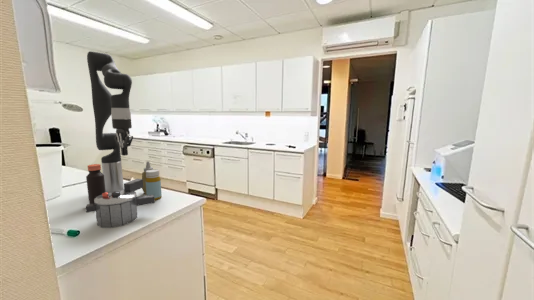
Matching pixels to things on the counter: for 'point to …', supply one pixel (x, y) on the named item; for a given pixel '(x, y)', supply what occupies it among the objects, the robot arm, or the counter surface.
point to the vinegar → (95, 182)
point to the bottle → (153, 183)
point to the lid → (120, 194)
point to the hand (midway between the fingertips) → (124, 155)
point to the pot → (118, 212)
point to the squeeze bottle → (145, 176)
